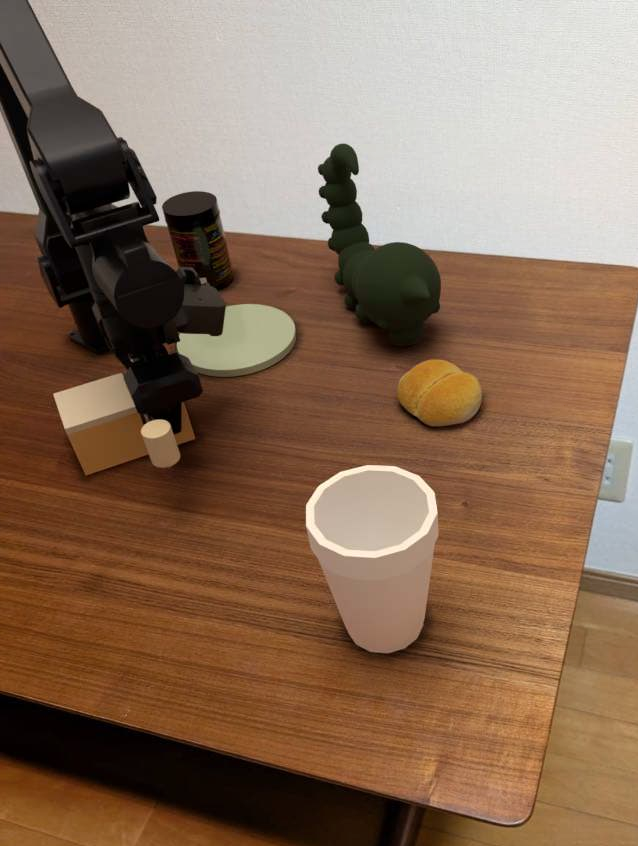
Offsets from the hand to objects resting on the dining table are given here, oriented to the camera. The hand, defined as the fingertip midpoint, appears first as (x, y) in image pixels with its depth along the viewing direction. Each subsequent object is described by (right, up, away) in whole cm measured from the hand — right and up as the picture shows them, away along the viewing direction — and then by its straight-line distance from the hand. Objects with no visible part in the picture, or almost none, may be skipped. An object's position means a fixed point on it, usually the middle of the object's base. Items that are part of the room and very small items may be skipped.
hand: (167, 415), depth 87 cm
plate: (+5, +10, +12) cm, 16 cm away
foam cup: (+23, -20, -18) cm, 36 cm away
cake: (-6, -3, 0) cm, 6 cm away
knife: (0, -5, -3) cm, 6 cm away
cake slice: (0, -1, +1) cm, 2 cm away
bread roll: (+29, +1, +1) cm, 29 cm away
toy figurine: (+22, +14, +14) cm, 30 cm away
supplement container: (-1, +21, +22) cm, 31 cm away
